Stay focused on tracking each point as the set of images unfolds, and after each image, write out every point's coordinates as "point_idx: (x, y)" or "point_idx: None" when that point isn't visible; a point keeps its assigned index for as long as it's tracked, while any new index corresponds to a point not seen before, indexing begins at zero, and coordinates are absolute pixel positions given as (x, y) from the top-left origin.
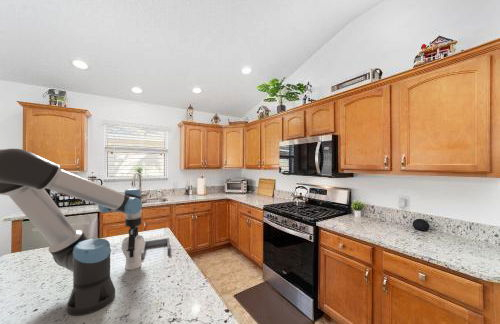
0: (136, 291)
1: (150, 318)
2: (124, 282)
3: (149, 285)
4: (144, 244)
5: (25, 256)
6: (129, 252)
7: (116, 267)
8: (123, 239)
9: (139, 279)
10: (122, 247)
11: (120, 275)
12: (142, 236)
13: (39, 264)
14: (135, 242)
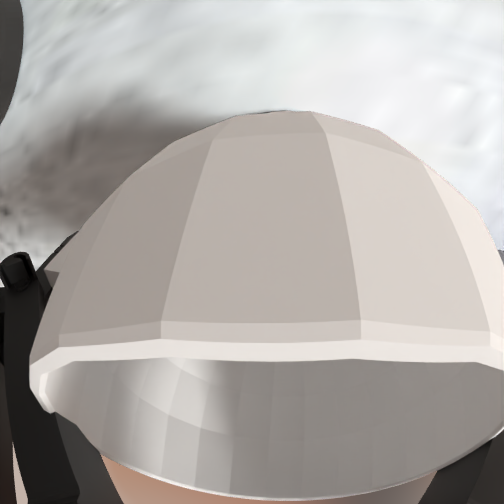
0: (4, 216)
1: None
2: (60, 147)
3: (35, 261)
4: (267, 407)
5: None
6: (61, 260)
7: (345, 43)
8: (386, 350)
9: (76, 223)
10: (163, 154)
11: (155, 94)
12: (308, 496)
13: None
14: (99, 423)
